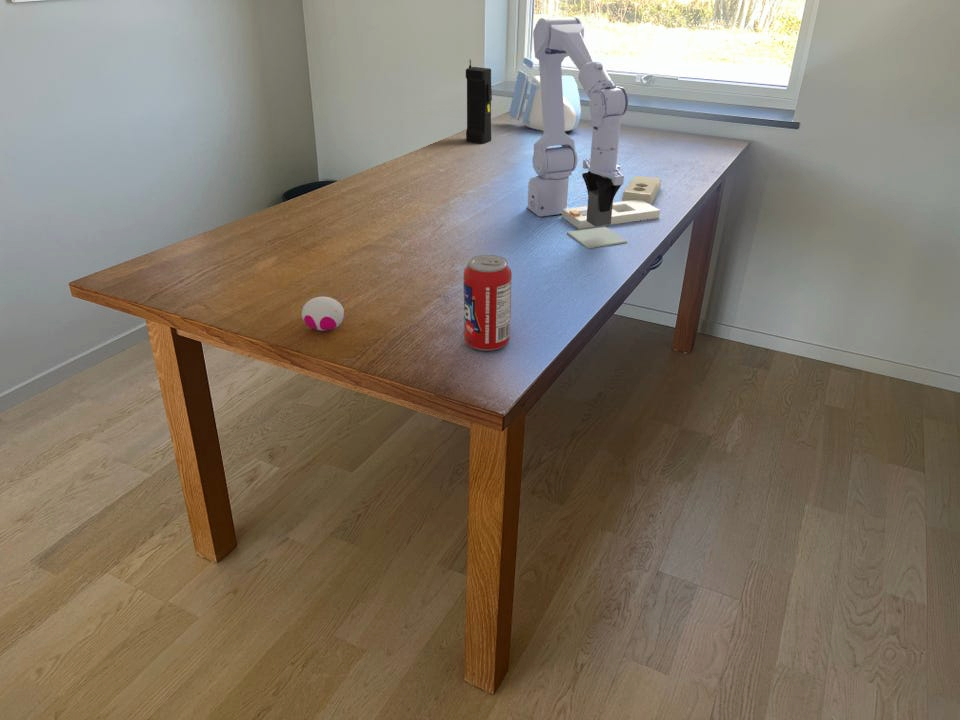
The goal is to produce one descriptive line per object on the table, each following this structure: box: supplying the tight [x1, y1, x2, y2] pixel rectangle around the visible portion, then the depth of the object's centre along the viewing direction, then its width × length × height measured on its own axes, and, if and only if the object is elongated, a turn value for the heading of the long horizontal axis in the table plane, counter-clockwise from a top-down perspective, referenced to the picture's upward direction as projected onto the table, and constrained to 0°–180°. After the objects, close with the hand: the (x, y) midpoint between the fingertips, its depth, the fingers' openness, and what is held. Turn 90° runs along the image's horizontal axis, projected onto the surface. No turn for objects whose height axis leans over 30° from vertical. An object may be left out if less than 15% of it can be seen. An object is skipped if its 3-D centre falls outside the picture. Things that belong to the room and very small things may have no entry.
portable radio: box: [465, 60, 493, 144], centre depth 241 cm, size 8×6×25 cm
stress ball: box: [301, 296, 345, 332], centre depth 132 cm, size 8×8×7 cm
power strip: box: [561, 200, 661, 230], centre depth 183 cm, size 22×9×3 cm, turn 111°
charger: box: [586, 190, 614, 228], centre depth 168 cm, size 4×4×7 cm
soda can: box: [463, 254, 513, 352], centre depth 125 cm, size 8×8×15 cm
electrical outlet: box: [621, 175, 662, 206], centre depth 197 cm, size 7×4×18 cm
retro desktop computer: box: [508, 57, 582, 132], centre depth 257 cm, size 25×23×16 cm
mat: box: [566, 226, 628, 250], centre depth 172 cm, size 10×10×1 cm
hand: (599, 207), depth 168 cm, fingers closed on charger, 4 cm apart
